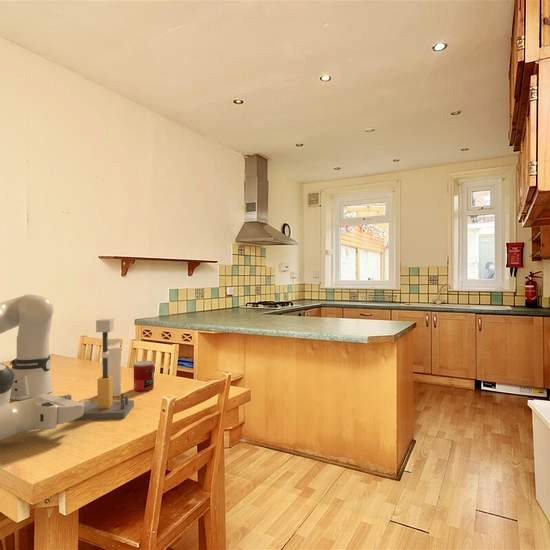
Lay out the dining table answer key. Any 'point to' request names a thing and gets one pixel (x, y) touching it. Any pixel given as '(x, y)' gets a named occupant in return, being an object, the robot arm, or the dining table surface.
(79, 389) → the dining table surface
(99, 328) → the stand
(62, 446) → the dining table surface
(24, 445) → the dining table surface
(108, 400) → the sleeve
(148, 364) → the canned food
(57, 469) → the dining table surface
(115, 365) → the milk
